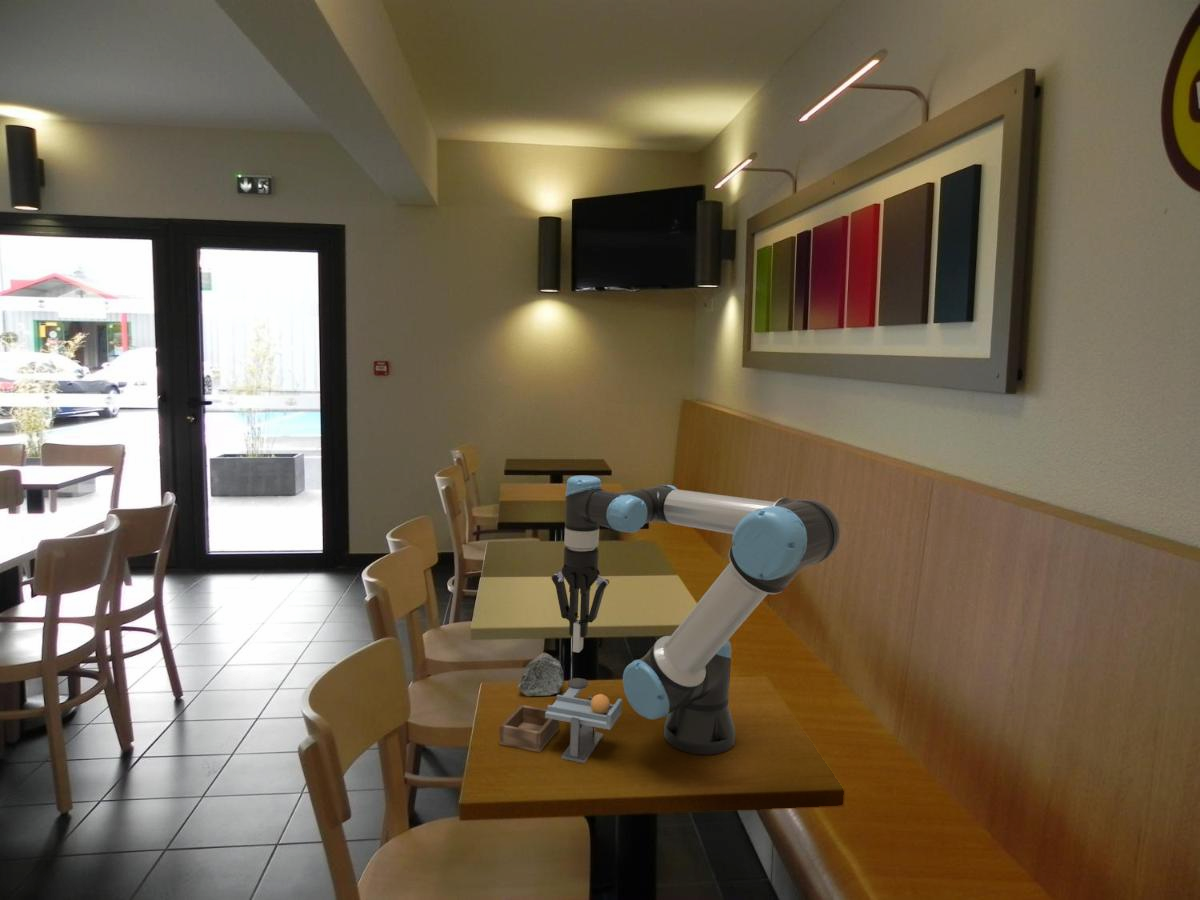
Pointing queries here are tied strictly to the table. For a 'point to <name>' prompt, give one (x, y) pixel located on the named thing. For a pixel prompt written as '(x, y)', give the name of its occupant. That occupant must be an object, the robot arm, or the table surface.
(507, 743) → the tray
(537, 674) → the stone
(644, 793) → the table surface
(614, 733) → the table surface
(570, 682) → the seesaw
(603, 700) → the ball
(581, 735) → the pivot stand
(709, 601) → the robot arm
